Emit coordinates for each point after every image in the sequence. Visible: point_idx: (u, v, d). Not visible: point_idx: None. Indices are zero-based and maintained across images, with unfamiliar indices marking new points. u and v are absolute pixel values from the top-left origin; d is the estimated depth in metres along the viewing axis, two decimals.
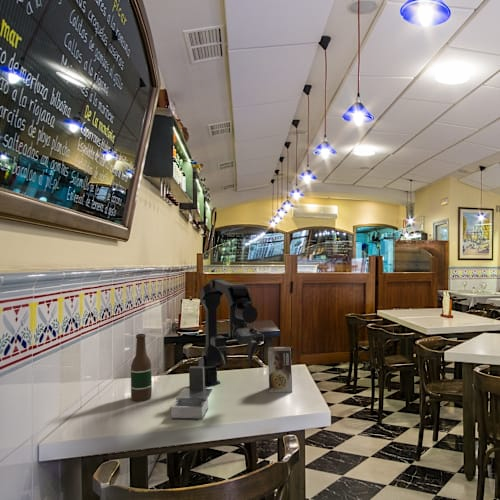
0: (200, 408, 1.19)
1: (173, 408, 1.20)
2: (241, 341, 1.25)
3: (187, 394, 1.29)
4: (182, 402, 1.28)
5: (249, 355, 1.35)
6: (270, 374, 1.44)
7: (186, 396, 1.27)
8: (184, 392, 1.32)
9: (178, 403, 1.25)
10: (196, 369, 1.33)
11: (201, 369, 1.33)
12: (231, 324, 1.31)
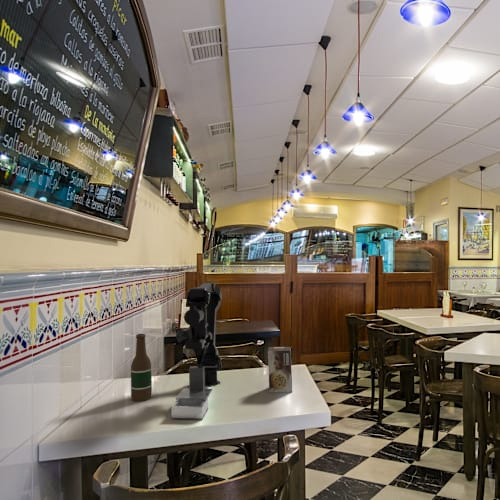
0: (200, 408, 1.19)
1: (173, 408, 1.20)
2: None
3: (187, 394, 1.29)
4: (182, 402, 1.28)
5: None
6: (270, 374, 1.44)
7: (186, 396, 1.27)
8: (184, 392, 1.32)
9: (178, 403, 1.25)
10: (196, 369, 1.33)
11: (201, 369, 1.33)
12: None
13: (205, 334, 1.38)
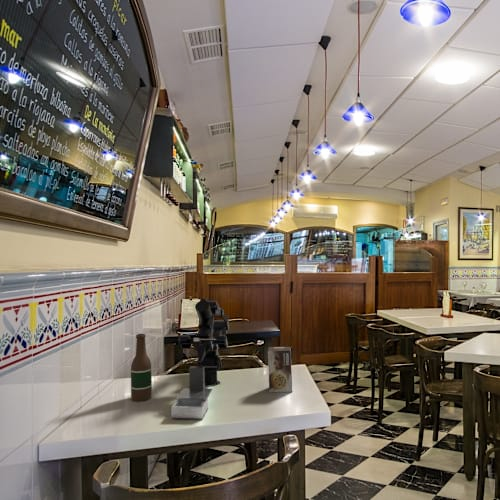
0: (200, 408, 1.19)
1: (173, 408, 1.20)
2: None
3: (187, 394, 1.29)
4: (182, 402, 1.28)
5: None
6: (270, 374, 1.44)
7: (186, 396, 1.27)
8: (184, 392, 1.32)
9: (178, 403, 1.25)
10: (196, 369, 1.33)
11: (201, 369, 1.33)
12: None
13: (200, 333, 1.46)
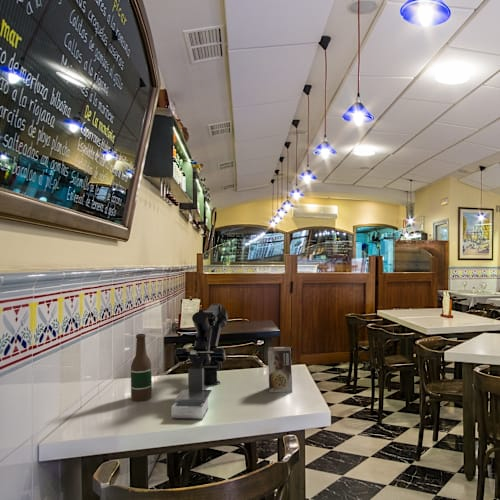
0: (200, 408, 1.19)
1: (173, 408, 1.20)
2: None
3: (186, 395, 1.28)
4: (182, 402, 1.28)
5: None
6: (270, 374, 1.44)
7: (185, 397, 1.26)
8: (183, 393, 1.30)
9: (178, 403, 1.25)
10: (195, 370, 1.32)
11: (200, 370, 1.31)
12: (209, 343, 1.45)
13: (197, 345, 1.41)
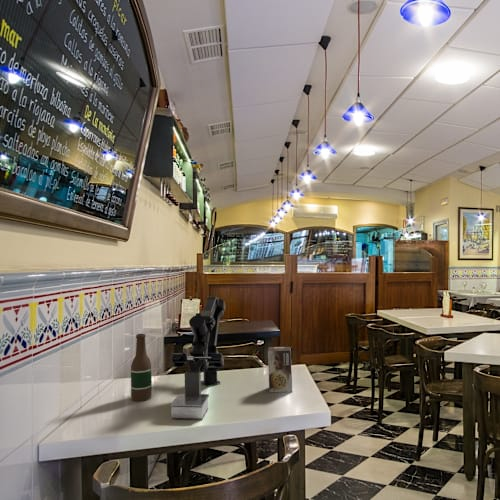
0: (200, 408, 1.19)
1: (173, 408, 1.20)
2: None
3: (182, 400, 1.23)
4: None
5: None
6: (270, 374, 1.44)
7: (181, 402, 1.21)
8: (179, 397, 1.26)
9: None
10: (192, 374, 1.27)
11: (197, 374, 1.27)
12: (207, 348, 1.40)
13: (194, 350, 1.36)
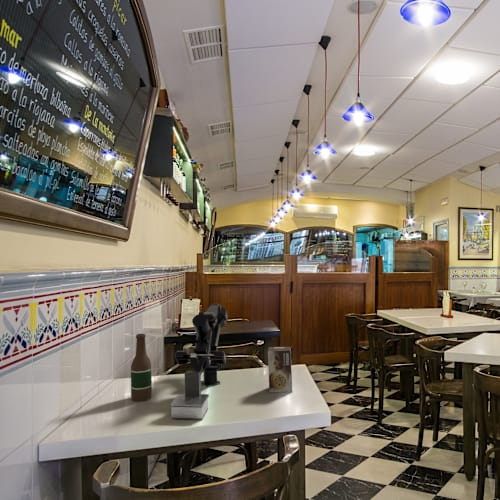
0: (200, 408, 1.19)
1: (173, 408, 1.20)
2: None
3: (182, 400, 1.23)
4: None
5: None
6: (270, 374, 1.44)
7: (181, 402, 1.21)
8: (179, 398, 1.26)
9: None
10: (192, 374, 1.27)
11: (197, 374, 1.27)
12: None
13: (197, 348, 1.41)
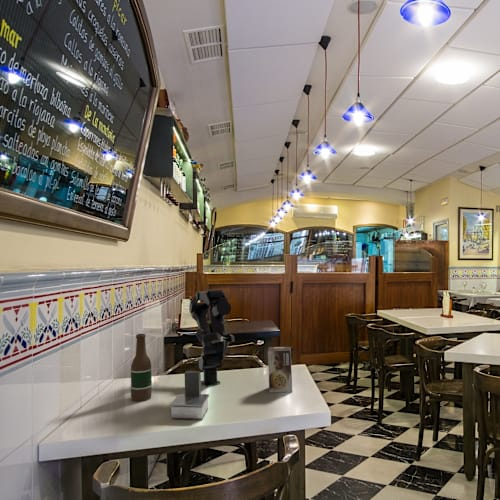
0: (200, 408, 1.19)
1: (173, 408, 1.20)
2: None
3: (182, 400, 1.23)
4: None
5: None
6: (270, 374, 1.44)
7: (181, 402, 1.21)
8: (179, 398, 1.26)
9: None
10: (192, 374, 1.27)
11: (197, 374, 1.27)
12: None
13: (223, 331, 1.44)
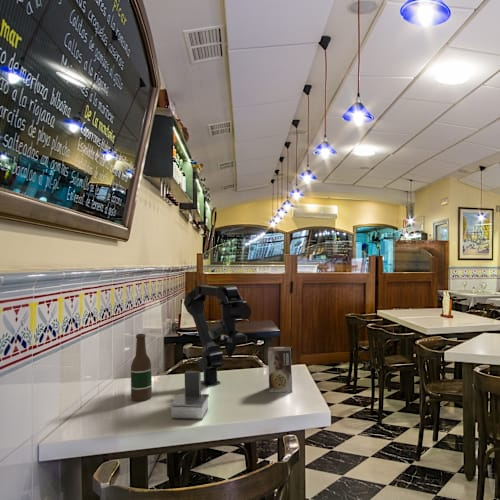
0: (200, 408, 1.19)
1: (173, 408, 1.20)
2: (209, 334, 1.45)
3: (182, 400, 1.23)
4: None
5: None
6: (270, 374, 1.44)
7: (181, 402, 1.21)
8: (179, 398, 1.26)
9: None
10: (192, 374, 1.27)
11: (197, 374, 1.27)
12: None
13: None
